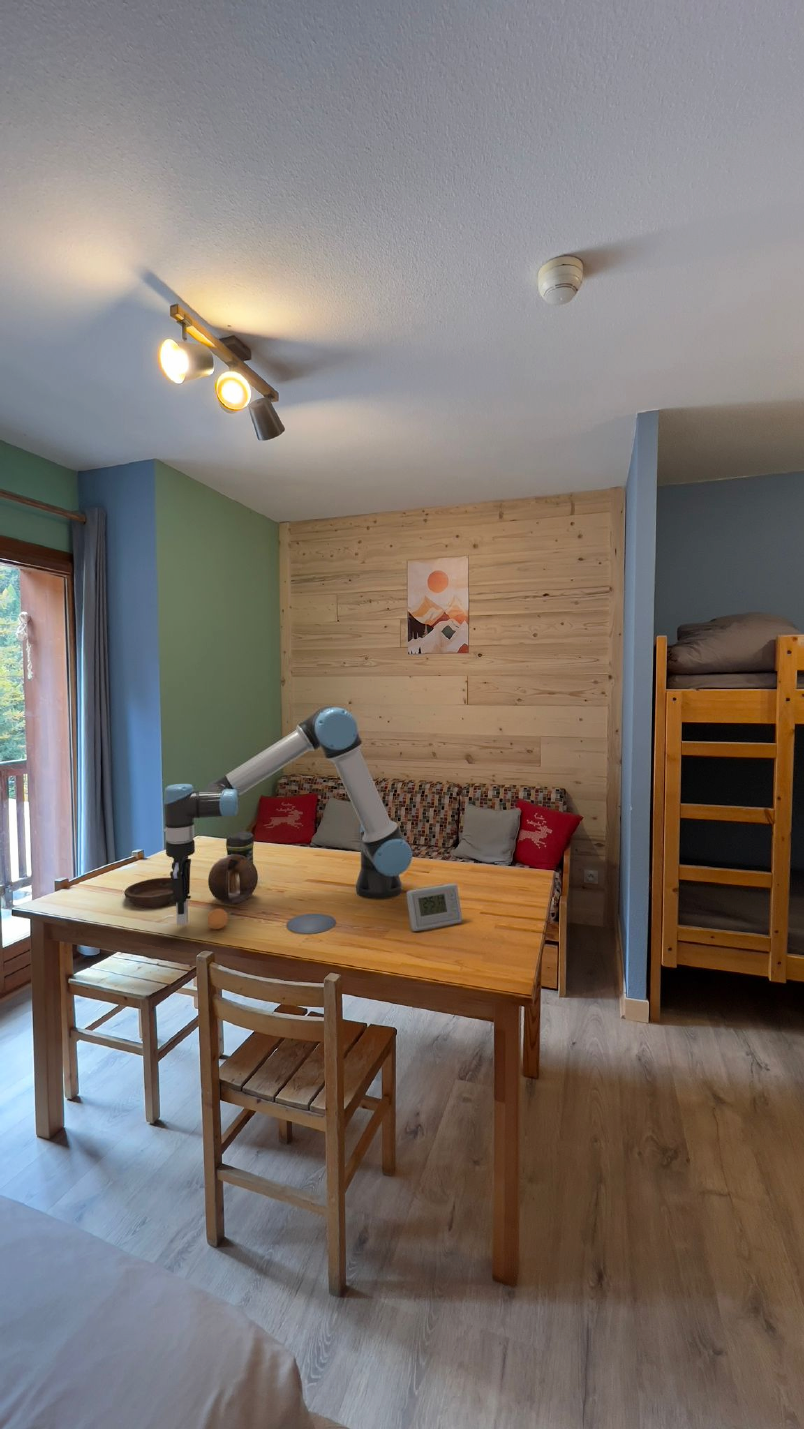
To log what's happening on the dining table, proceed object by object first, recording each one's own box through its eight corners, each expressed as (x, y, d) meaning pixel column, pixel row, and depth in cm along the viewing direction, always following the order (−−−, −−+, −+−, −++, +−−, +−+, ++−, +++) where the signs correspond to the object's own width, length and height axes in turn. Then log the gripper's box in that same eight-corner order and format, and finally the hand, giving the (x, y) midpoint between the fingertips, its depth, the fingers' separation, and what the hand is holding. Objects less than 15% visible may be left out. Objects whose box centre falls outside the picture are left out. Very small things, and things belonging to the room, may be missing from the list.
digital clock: (410, 934, 162) (409, 895, 162) (403, 921, 171) (402, 884, 171) (466, 928, 166) (466, 891, 165) (457, 916, 175) (456, 880, 174)
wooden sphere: (219, 893, 195) (217, 848, 194) (264, 894, 194) (263, 848, 193) (201, 911, 180) (199, 862, 179) (249, 911, 179) (248, 862, 178)
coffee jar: (244, 893, 195) (243, 837, 194) (223, 891, 197) (221, 836, 196) (258, 883, 205) (257, 830, 204) (237, 881, 207) (236, 829, 206)
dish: (144, 889, 200) (143, 875, 200) (202, 894, 195) (202, 879, 195) (107, 908, 183) (106, 892, 183) (170, 914, 178) (169, 898, 178)
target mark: (335, 913, 177) (335, 912, 177) (335, 932, 164) (335, 931, 164) (288, 915, 176) (288, 914, 176) (284, 935, 162) (284, 934, 162)
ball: (229, 924, 170) (229, 905, 170) (225, 932, 165) (225, 912, 164) (209, 925, 169) (209, 906, 169) (205, 933, 164) (204, 913, 164)
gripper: (172, 834, 171) (175, 915, 172) (159, 847, 158) (161, 934, 159) (199, 833, 172) (201, 914, 173) (188, 846, 159) (190, 932, 160)
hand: (182, 923), depth 166 cm, fingers closed
